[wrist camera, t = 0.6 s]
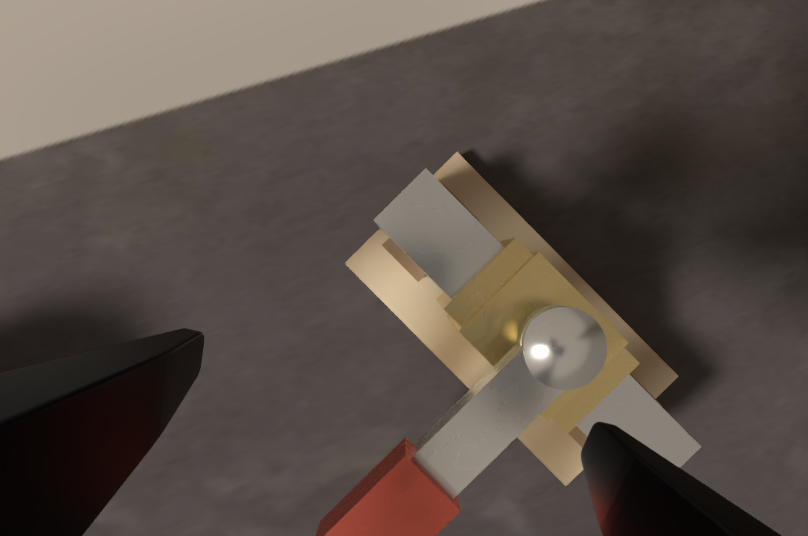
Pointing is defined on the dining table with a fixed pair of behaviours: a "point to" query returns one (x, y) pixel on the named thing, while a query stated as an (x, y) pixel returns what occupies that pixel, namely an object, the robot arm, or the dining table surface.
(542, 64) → the dining table surface
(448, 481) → the ball valve lever
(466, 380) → the birch rig board
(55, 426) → the robot arm
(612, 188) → the dining table surface
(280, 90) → the dining table surface
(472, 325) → the valve and pipe
